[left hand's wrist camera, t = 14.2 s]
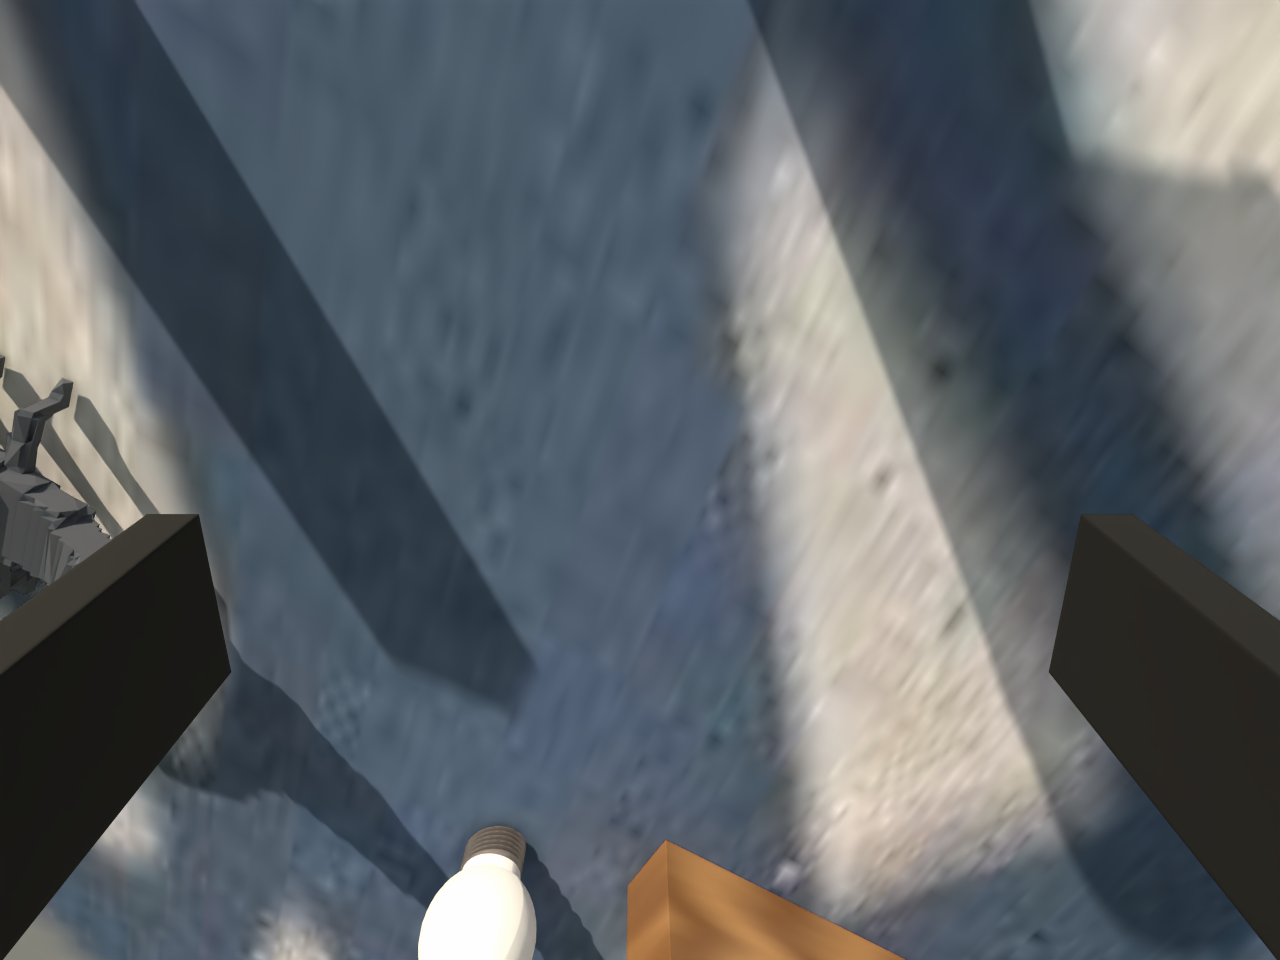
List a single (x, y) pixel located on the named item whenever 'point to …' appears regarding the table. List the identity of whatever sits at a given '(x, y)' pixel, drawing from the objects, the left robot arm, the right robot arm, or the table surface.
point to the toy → (39, 506)
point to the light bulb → (483, 904)
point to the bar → (725, 918)
